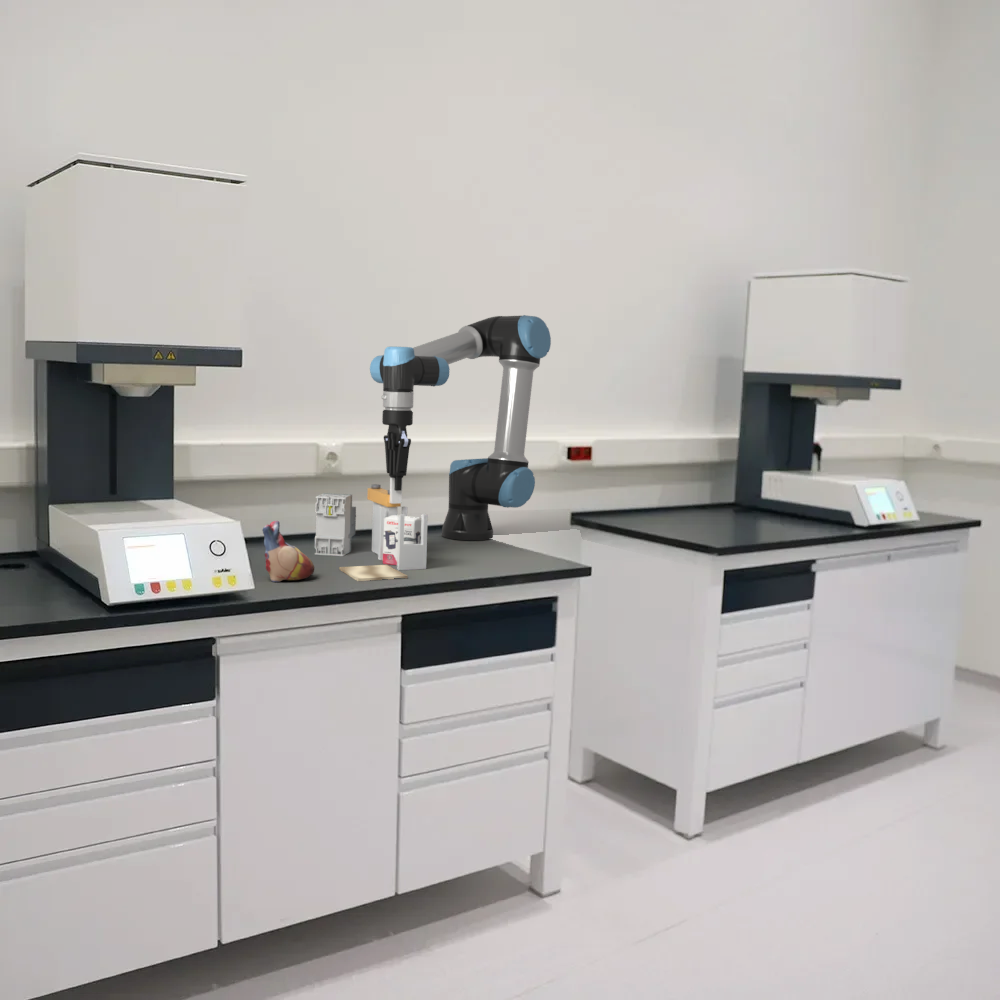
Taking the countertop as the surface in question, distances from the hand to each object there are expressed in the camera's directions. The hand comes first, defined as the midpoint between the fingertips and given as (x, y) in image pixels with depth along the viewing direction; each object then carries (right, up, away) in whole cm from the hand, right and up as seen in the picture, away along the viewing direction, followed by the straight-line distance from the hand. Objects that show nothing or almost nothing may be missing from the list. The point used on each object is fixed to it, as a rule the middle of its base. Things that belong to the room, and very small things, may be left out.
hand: (395, 503), depth 251 cm
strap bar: (-4, 0, +7) cm, 8 cm away
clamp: (-1, -14, +2) cm, 15 cm away
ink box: (+2, -15, -3) cm, 16 cm away
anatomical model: (-21, -17, -27) cm, 38 cm away
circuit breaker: (-17, -13, +12) cm, 24 cm away
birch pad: (-4, -17, -17) cm, 24 cm away
